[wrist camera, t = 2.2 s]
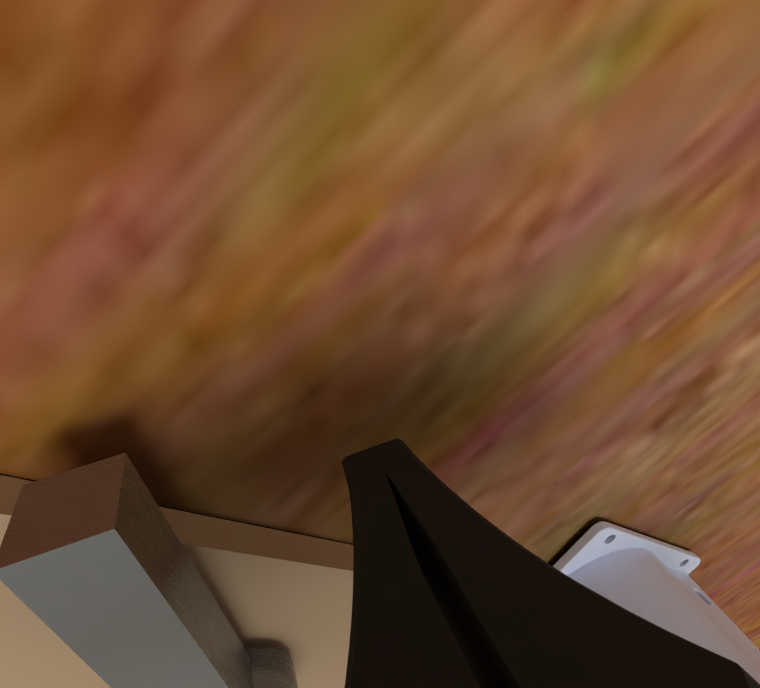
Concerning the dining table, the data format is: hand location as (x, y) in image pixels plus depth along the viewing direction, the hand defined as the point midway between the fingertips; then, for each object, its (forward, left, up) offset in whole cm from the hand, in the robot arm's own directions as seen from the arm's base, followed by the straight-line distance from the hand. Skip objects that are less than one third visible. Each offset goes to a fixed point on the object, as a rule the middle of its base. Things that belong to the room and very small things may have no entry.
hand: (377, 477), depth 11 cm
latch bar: (+2, +6, -1) cm, 7 cm away
